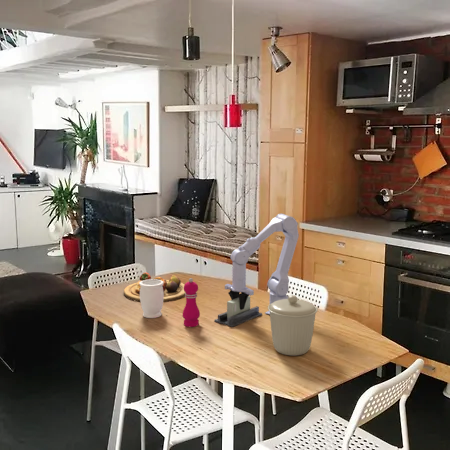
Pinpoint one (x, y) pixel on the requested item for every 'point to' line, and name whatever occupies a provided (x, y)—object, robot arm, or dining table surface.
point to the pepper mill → (191, 304)
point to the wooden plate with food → (170, 287)
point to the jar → (151, 297)
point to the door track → (238, 317)
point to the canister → (292, 325)
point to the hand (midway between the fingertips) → (238, 308)
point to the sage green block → (236, 306)
